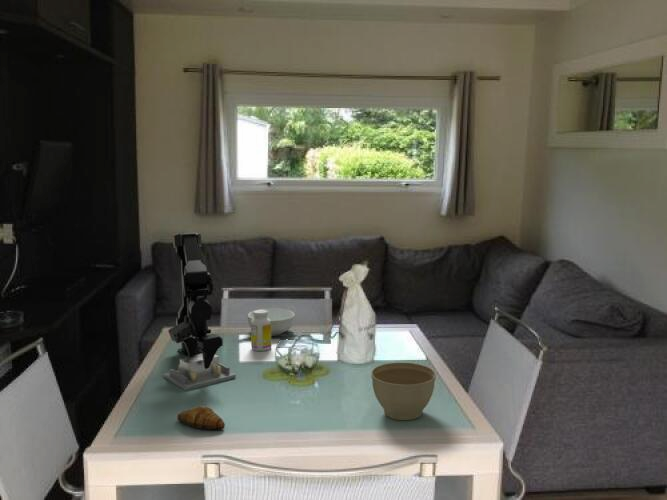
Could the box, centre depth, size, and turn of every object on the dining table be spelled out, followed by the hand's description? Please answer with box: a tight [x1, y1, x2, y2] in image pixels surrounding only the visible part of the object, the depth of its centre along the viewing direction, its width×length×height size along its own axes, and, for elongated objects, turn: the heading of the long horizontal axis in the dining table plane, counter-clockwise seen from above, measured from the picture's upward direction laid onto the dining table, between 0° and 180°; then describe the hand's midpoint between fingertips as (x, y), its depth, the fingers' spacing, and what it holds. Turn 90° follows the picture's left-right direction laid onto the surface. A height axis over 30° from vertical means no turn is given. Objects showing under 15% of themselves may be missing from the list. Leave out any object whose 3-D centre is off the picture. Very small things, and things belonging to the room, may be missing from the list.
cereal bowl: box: [247, 308, 296, 337], centre depth 237 cm, size 17×17×7 cm
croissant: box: [176, 405, 226, 431], centre depth 159 cm, size 14×7×5 cm, turn 65°
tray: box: [163, 361, 237, 392], centre depth 192 cm, size 14×16×4 cm
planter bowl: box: [370, 361, 437, 421], centre depth 165 cm, size 16×16×11 cm
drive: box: [179, 353, 220, 380], centre depth 192 cm, size 5×10×5 cm, turn 130°
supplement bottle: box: [250, 309, 272, 352], centre depth 218 cm, size 7×7×13 cm
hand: (199, 364), depth 191 cm, fingers open, 9 cm apart
